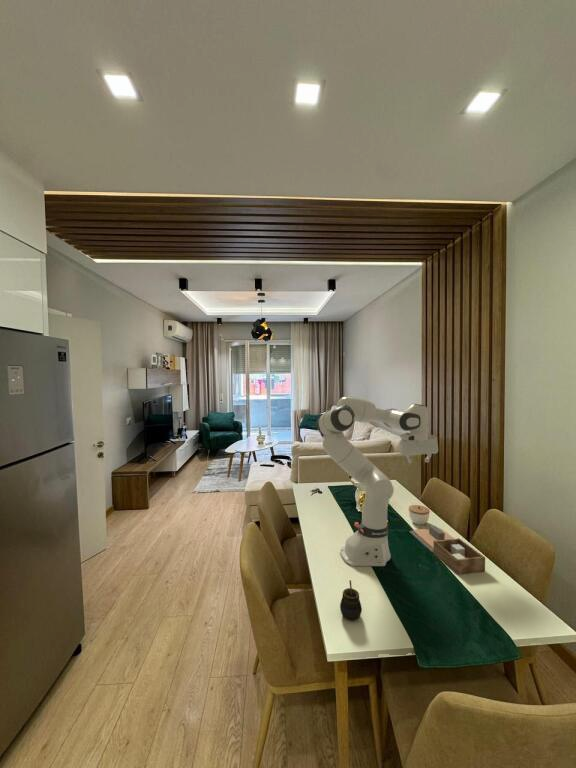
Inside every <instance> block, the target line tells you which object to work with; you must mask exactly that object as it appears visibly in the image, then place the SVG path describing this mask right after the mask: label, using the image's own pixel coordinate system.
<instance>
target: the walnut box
mask: <svg viewBox="0 0 576 768" xmlns="http://www.w3.org/2000/svg"><path fill="white" fill-rule="evenodd" d="M454 544H459V545H461V546H462V547H463V548H465V558H464V559H457V558H456V557H454V556H453V555H452V554H451V545H454ZM432 554H433V555H434V556H436V558H437V559H439V560H440V561H441V562H442V563H443V564H444V565H446V567H448V568H449V569H450V570H451V571H452V572H453V573H454V574H455V575H457V576H459V575H467V574H468V575H469V574H476V573H484V572H486V556H484V555H482V554H481V553H480V552H478V551H477V550H476V549H475V548H473V547H472V546H470V545H469V544H468V543H467V542H465V541H463V540H462V539H461V538H459V537H458V538H454V539H447V540H437V541H434V550H433V552H432Z"/></svg>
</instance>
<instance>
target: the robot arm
mask: <svg viewBox="0 0 576 768" xmlns="http://www.w3.org/2000/svg"><path fill="white" fill-rule="evenodd" d="M373 421H377V422H381V423H383V424H384V425H386V426H387V427H388V428H392V429H396V430H400V431H405V433H402V434H400V436H399V438H400V440H399V443H398V453H399V454H400V455H402V456H405V457H406V459H407V464H413V459H412V458H410V457H411V455H414V456H415V455H427V456H426V457H425V458H424V463H430V459H431V458H432V454H434V455H435V454H438V452H439V445H438V437H437V436H436V435H435V434H432V435H430V434H429V428H428V424H429V411H428V407H427V406H426V405H424V404H417V403H412V404H411V405H410V406H409V407H407V408H406V409H404V410H401V409H397V408H388V409H382V408H378V407H377V406H376V405H375V403H373V402H371V401H370V400H366V399H365V398H364V399H363V398H359V397H353V396H352V397H351V396H343V397H341V398H340V399H339V400H337V403H336V408H333V409H329V410H327V411H325V412H324V413H322V414H321V415H319V417H317V420H316V429H317V431H318V432H319V433H320V436H321V437H322V438H323V441H322V447H323V449H324V451H325V453H327V454H328V456H329V457H330V458H331V459H332V461H334V462H335V463H336V464H337V465H338V466H339V467H340V468H341V469H342V470H343V471H344V472H346V473H347V474H348V475H349V476H350V477H351V478H352V479H354V480H355V481H356V482H357V483H359V484H360V485H361V487H362V488H363V489H364V492H365V497H364V501H363V504H362V507H361V522H360V523H359V522H358V521H355V522H354V526H355V528H357V530H356V531H355V532H354V533H352V534H351V535H349V537H347V539H346V540H345V544H344V545H345V546H342V547H340V551H339V553H340V556H341V558H342V560H343V561H344V562H345V563H346V564H348V565H349V566H352V567H353V566H354V567H385V566H386V565H387V562H388V561H390V560H391V556H392V555H391V552H390V548H389V539H388V537H389V525H388V508H389V502H390V499H391V498H392V496H393V495H394V492H395V491H394V485H393V484H392V483H393V482H391V479H390V478H389V477H388V476H386V474H384V473H383V472H382V471H381V470H380V469H379V468H378V467H377V466H376V465H375V464H374V463H372V462H371V460H370V459H368V458H367V457H366V456H365V454H363V453H362V451H360V450H359V449H358V448H357V447H356V446H355V445H353V443H351V442H350V441H349V440H348V439H347V438H346V435H345V434H344V432H345V431H347V430H349V429H350V428H351V427H352V426H353V424H354V422H357V423H363V424H365V423H369V424H370V423H371V422H373Z"/></svg>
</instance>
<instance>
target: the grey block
mask: <svg viewBox="0 0 576 768" xmlns="http://www.w3.org/2000/svg"><path fill="white" fill-rule="evenodd" d="M458 553H460V554H461V555H462V556H463V557H465V548H463V547H462V546H461V545H459V544H454V545H451V554H458Z"/></svg>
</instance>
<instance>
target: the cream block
mask: <svg viewBox="0 0 576 768" xmlns="http://www.w3.org/2000/svg"><path fill="white" fill-rule="evenodd" d="M452 555H453V556H454V557H456V558H457V559H464V558H465V557H463V556H462V555H461V554H460V553H458V554H452Z"/></svg>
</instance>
